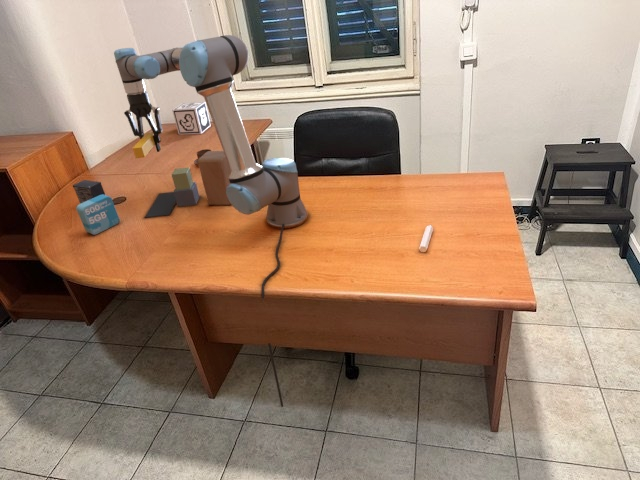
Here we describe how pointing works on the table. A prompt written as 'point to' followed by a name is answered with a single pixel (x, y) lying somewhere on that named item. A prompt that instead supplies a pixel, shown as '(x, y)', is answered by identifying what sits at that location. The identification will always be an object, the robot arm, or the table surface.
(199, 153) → the cup and saucer
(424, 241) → the marker
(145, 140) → the bar
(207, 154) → the block
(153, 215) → the mat
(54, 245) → the table surface
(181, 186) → the tower
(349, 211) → the table surface
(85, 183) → the small box
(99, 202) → the data package
